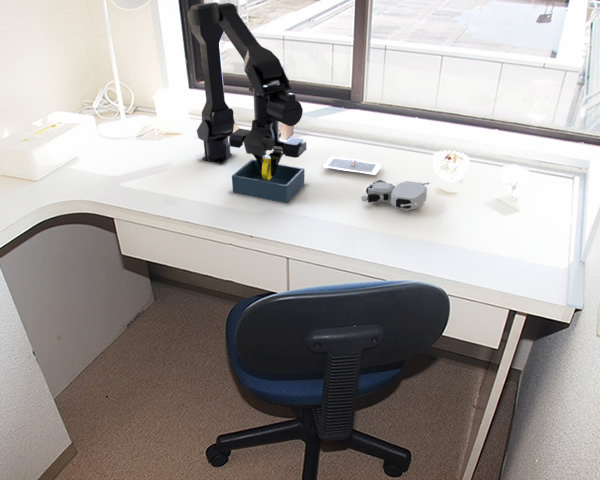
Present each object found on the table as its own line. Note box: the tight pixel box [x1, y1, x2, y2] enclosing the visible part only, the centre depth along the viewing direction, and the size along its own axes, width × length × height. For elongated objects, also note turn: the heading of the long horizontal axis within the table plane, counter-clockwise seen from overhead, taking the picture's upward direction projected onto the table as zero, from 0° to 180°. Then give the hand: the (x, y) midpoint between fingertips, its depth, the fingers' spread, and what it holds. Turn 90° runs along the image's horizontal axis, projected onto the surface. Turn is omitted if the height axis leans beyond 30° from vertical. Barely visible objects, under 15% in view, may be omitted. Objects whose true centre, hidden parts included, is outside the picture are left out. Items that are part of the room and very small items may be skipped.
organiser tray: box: [231, 159, 305, 204], centre depth 142 cm, size 15×11×5 cm
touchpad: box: [322, 156, 383, 176], centre depth 153 cm, size 8×15×2 cm, turn 70°
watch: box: [262, 154, 272, 181], centre depth 140 cm, size 6×3×6 cm, turn 164°
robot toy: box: [360, 179, 431, 212], centre depth 136 cm, size 12×4×15 cm
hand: (268, 175), depth 141 cm, fingers closed on watch, 2 cm apart
